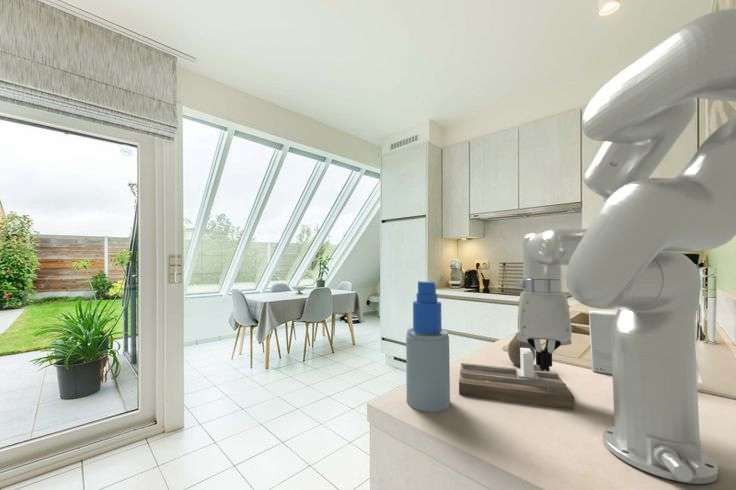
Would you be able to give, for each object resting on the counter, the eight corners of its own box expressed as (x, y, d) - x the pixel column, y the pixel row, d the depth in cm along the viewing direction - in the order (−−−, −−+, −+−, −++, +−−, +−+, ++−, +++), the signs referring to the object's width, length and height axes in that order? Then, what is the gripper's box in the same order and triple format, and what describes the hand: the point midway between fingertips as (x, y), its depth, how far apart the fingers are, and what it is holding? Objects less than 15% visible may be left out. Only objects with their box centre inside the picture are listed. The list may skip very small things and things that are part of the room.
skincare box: (622, 377, 78) (619, 315, 79) (590, 371, 82) (588, 312, 83) (620, 368, 85) (618, 311, 86) (591, 363, 89) (589, 308, 90)
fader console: (574, 409, 61) (574, 391, 61) (459, 394, 68) (458, 377, 68) (556, 383, 74) (556, 368, 75) (461, 372, 81) (461, 359, 82)
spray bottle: (398, 404, 63) (398, 281, 65) (418, 389, 71) (417, 279, 72) (439, 416, 58) (438, 283, 60) (456, 399, 66) (454, 281, 67)
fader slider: (539, 383, 67) (538, 354, 68) (519, 381, 69) (518, 353, 69) (535, 375, 72) (534, 348, 72) (516, 373, 73) (515, 347, 74)
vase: (536, 363, 89) (535, 332, 89) (534, 370, 83) (533, 337, 83) (510, 359, 92) (509, 330, 93) (506, 366, 87) (505, 334, 87)
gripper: (507, 287, 69) (509, 370, 68) (586, 289, 64) (589, 379, 63) (504, 284, 76) (506, 360, 75) (575, 286, 71) (577, 367, 70)
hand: (544, 368), depth 69 cm, fingers closed
